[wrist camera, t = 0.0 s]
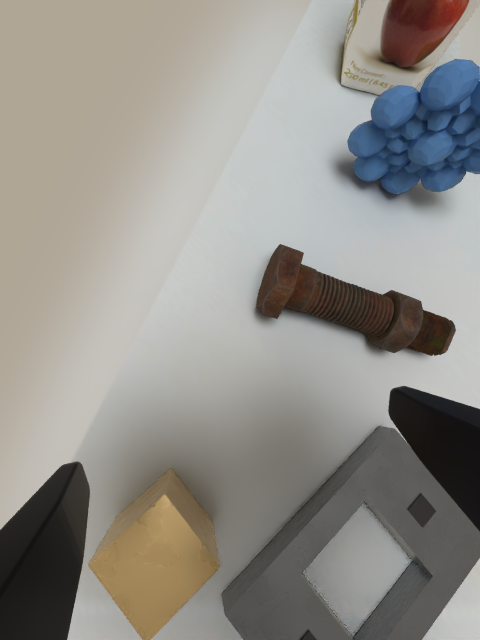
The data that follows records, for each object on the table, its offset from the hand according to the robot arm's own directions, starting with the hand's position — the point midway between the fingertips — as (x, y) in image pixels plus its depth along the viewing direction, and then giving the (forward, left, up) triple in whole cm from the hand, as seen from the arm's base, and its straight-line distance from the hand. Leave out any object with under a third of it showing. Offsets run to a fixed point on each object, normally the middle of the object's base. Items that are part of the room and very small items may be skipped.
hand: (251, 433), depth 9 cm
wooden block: (-3, +7, -15) cm, 17 cm away
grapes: (+6, -26, -15) cm, 31 cm away
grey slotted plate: (-14, -1, -15) cm, 21 cm away
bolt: (-1, -13, -15) cm, 20 cm away
